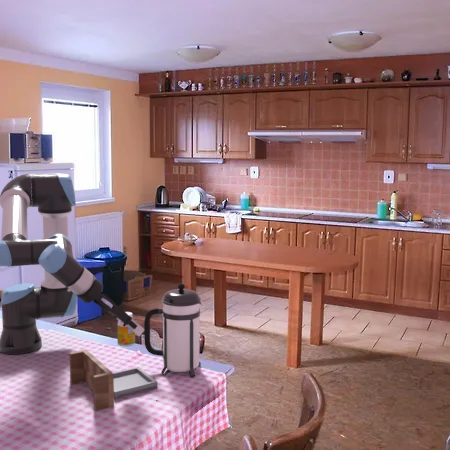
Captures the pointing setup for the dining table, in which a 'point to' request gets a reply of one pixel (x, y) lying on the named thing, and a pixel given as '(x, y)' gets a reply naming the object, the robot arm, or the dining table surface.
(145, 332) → the coffee press
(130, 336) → the supplement bottle
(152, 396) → the dining table surface
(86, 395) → the dining table surface
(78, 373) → the alcove
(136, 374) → the tray
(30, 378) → the dining table surface
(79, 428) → the dining table surface
